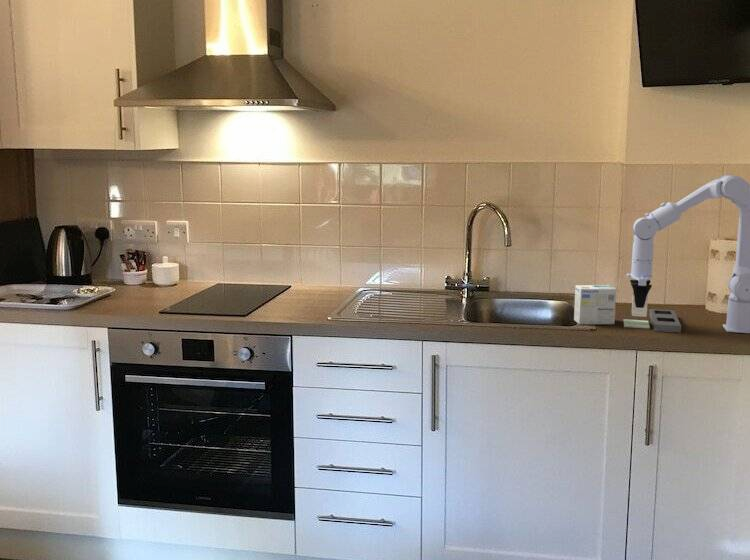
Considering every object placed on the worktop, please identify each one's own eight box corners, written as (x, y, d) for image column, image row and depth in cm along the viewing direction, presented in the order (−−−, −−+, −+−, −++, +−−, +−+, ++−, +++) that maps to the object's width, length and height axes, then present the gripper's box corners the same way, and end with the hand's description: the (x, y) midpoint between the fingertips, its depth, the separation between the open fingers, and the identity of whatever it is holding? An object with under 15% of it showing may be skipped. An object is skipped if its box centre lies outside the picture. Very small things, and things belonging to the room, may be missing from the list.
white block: (645, 313, 234) (647, 293, 233) (646, 316, 230) (648, 295, 229) (631, 312, 235) (632, 292, 234) (632, 315, 231) (633, 295, 230)
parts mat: (648, 322, 236) (648, 320, 236) (649, 328, 229) (649, 326, 228) (623, 320, 238) (623, 319, 238) (624, 326, 230) (624, 325, 230)
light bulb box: (607, 319, 240) (610, 284, 238) (615, 324, 233) (617, 288, 231) (572, 319, 239) (574, 284, 238) (579, 324, 233) (580, 288, 231)
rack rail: (673, 316, 244) (674, 310, 243) (680, 332, 224) (681, 325, 223) (649, 315, 245) (649, 308, 245) (654, 331, 225) (654, 324, 225)
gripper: (626, 255, 238) (623, 300, 240) (628, 262, 224) (625, 310, 226) (651, 256, 236) (648, 301, 238) (655, 263, 222) (652, 311, 224)
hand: (639, 305), depth 232 cm, fingers closed on white block, 4 cm apart
